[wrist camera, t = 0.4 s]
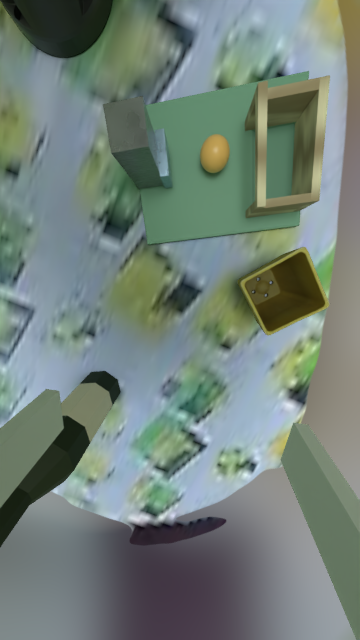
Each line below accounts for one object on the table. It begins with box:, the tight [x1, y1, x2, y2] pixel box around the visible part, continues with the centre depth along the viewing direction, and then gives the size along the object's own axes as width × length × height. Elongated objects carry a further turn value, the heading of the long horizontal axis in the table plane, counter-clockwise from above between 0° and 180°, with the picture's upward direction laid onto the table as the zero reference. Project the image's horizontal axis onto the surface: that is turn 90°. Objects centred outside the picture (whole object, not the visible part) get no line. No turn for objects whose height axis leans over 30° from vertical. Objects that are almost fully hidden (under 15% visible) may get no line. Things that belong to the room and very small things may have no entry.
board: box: [140, 71, 309, 245], centre depth 28 cm, size 18×24×1 cm
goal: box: [245, 76, 330, 218], centre depth 25 cm, size 12×8×6 cm, turn 6°
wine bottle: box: [0, 371, 120, 547], centre depth 28 cm, size 8×8×30 cm
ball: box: [200, 134, 230, 173], centre depth 26 cm, size 4×4×4 cm
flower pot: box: [237, 247, 329, 335], centre depth 29 cm, size 9×9×9 cm
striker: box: [103, 96, 173, 189], centre depth 24 cm, size 5×5×10 cm
